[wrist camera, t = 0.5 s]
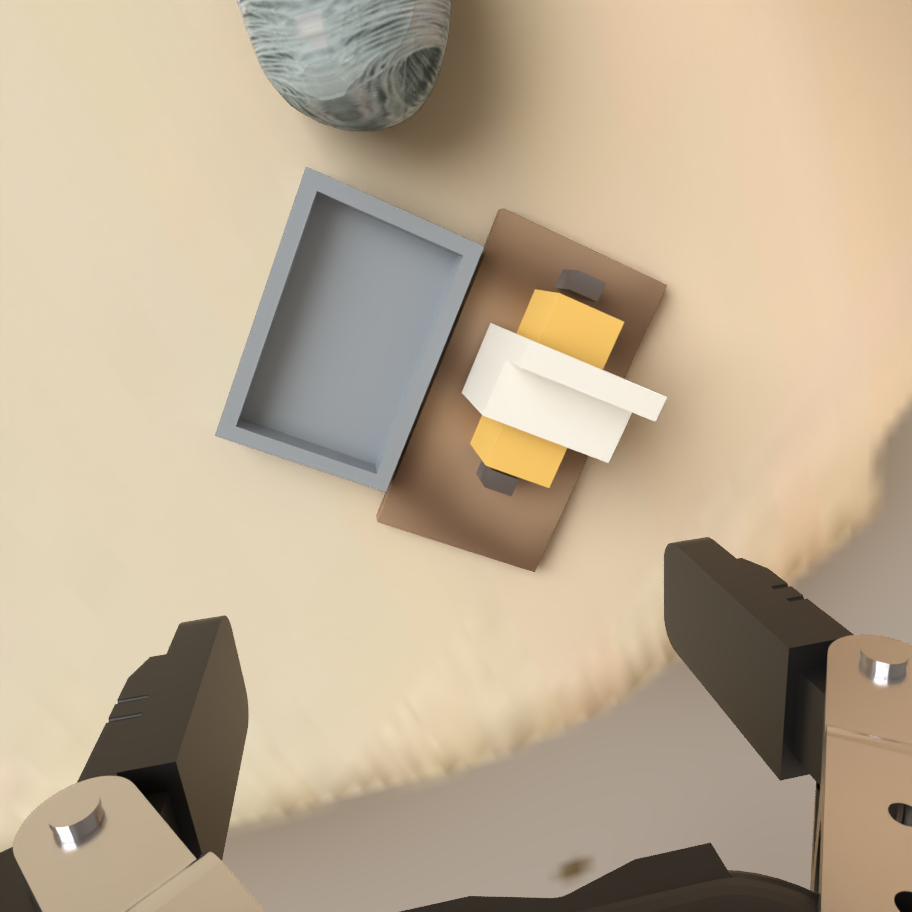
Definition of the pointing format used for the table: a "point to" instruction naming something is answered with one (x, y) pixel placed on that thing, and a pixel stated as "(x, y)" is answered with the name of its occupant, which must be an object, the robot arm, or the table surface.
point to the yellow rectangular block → (568, 333)
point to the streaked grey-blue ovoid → (350, 56)
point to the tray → (347, 333)
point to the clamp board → (455, 418)
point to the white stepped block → (554, 394)
